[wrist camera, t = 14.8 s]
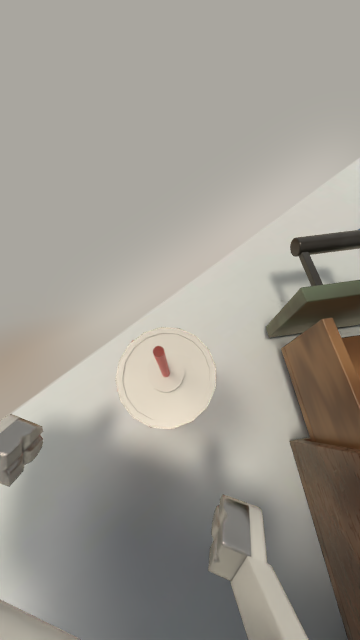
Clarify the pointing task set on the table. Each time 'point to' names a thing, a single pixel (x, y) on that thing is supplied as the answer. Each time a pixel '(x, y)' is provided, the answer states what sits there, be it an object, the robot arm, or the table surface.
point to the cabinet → (335, 518)
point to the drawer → (324, 345)
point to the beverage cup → (166, 378)
